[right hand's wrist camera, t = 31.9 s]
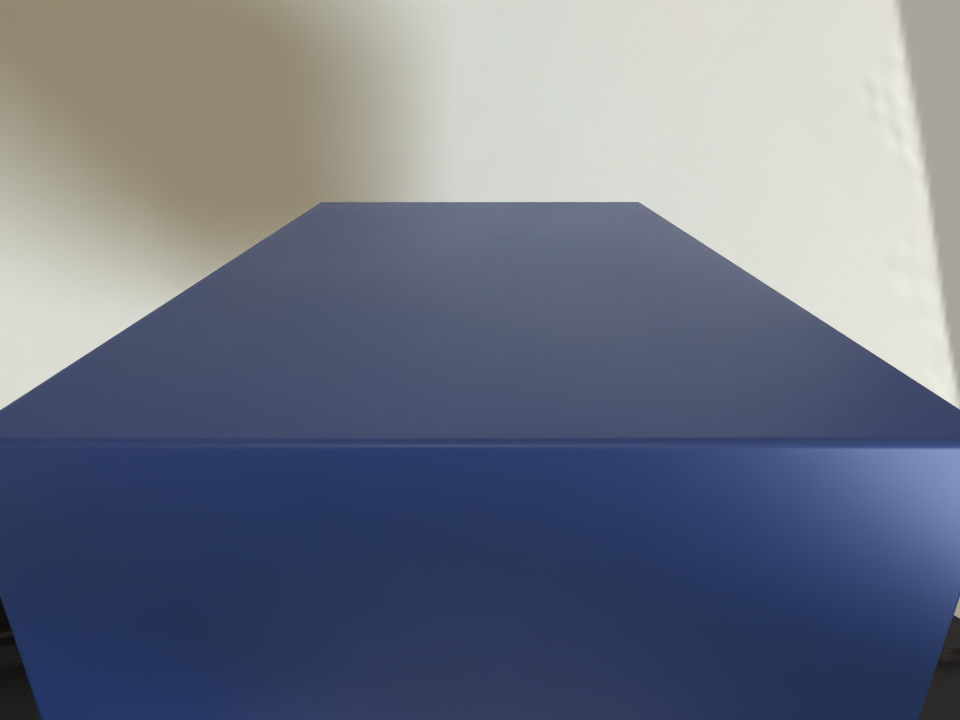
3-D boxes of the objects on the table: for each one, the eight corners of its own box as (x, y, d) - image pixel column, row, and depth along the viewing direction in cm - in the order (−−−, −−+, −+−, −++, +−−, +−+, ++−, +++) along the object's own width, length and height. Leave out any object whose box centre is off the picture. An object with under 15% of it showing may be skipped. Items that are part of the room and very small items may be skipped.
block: (319, 202, 16) (-57, 442, 5) (640, 202, 16) (1016, 440, 5) (347, 522, 19) (166, 1102, 8) (612, 522, 19) (793, 1102, 8)
